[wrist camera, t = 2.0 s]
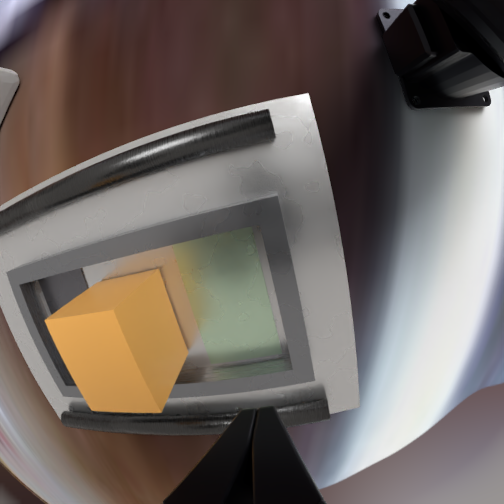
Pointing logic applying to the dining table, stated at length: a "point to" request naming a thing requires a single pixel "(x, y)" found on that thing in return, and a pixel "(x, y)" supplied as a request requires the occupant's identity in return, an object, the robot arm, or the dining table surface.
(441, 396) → the dining table surface
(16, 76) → the electrical switch
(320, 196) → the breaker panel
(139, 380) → the orange cube block
